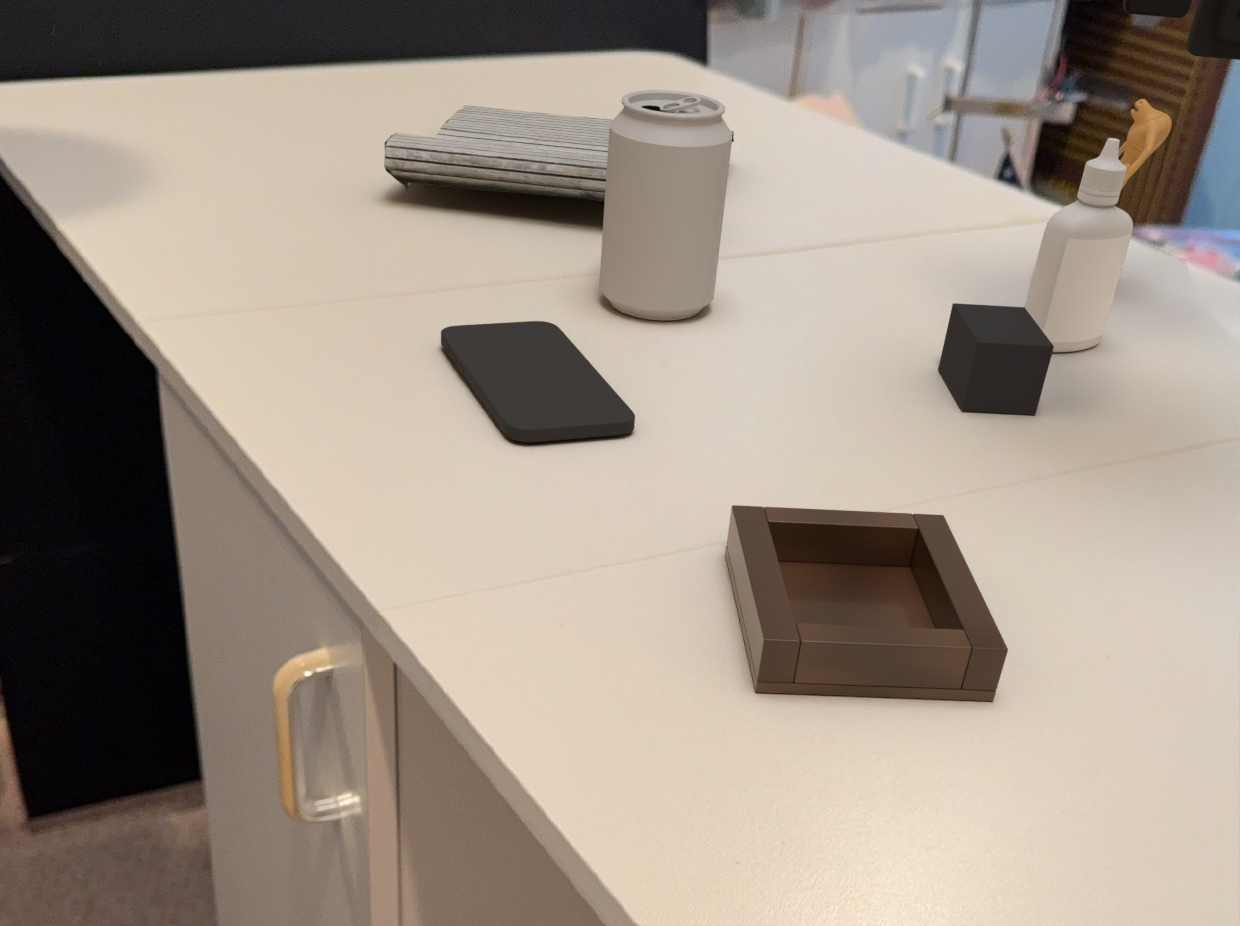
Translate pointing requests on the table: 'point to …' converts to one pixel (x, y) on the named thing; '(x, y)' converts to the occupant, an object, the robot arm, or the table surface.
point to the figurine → (1143, 136)
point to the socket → (860, 605)
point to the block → (995, 359)
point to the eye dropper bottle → (1082, 258)
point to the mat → (507, 154)
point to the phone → (536, 382)
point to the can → (664, 204)
